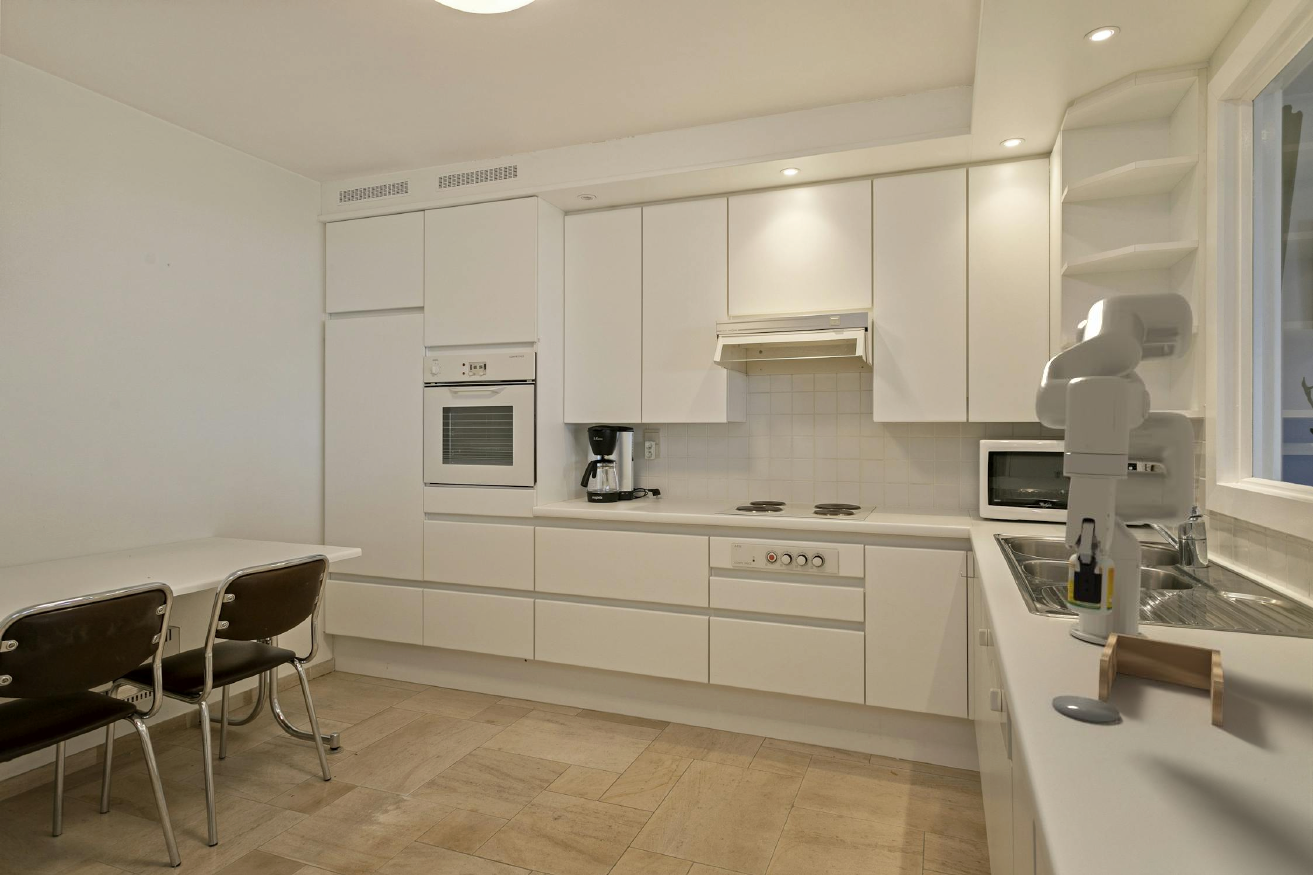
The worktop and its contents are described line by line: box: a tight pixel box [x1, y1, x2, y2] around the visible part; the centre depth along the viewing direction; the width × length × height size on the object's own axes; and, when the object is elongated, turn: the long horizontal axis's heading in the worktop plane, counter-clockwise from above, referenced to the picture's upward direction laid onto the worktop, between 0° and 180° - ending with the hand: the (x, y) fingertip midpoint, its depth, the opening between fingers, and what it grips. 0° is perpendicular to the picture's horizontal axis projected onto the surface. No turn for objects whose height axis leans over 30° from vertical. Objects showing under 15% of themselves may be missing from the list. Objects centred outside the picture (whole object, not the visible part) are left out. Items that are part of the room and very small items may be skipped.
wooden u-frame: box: [1097, 632, 1224, 727], centre depth 106 cm, size 17×14×6 cm
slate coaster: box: [1051, 695, 1120, 724], centre depth 100 cm, size 8×8×1 cm
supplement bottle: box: [1067, 540, 1114, 615], centre depth 99 cm, size 5×5×10 cm
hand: (1089, 596), depth 99 cm, fingers closed on supplement bottle, 5 cm apart
